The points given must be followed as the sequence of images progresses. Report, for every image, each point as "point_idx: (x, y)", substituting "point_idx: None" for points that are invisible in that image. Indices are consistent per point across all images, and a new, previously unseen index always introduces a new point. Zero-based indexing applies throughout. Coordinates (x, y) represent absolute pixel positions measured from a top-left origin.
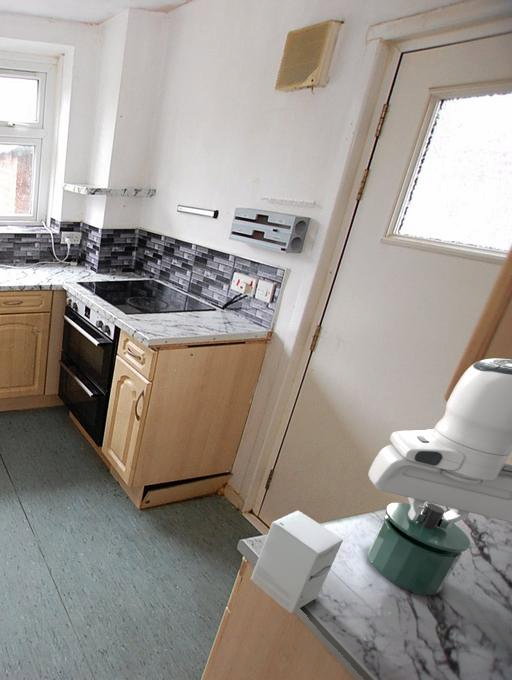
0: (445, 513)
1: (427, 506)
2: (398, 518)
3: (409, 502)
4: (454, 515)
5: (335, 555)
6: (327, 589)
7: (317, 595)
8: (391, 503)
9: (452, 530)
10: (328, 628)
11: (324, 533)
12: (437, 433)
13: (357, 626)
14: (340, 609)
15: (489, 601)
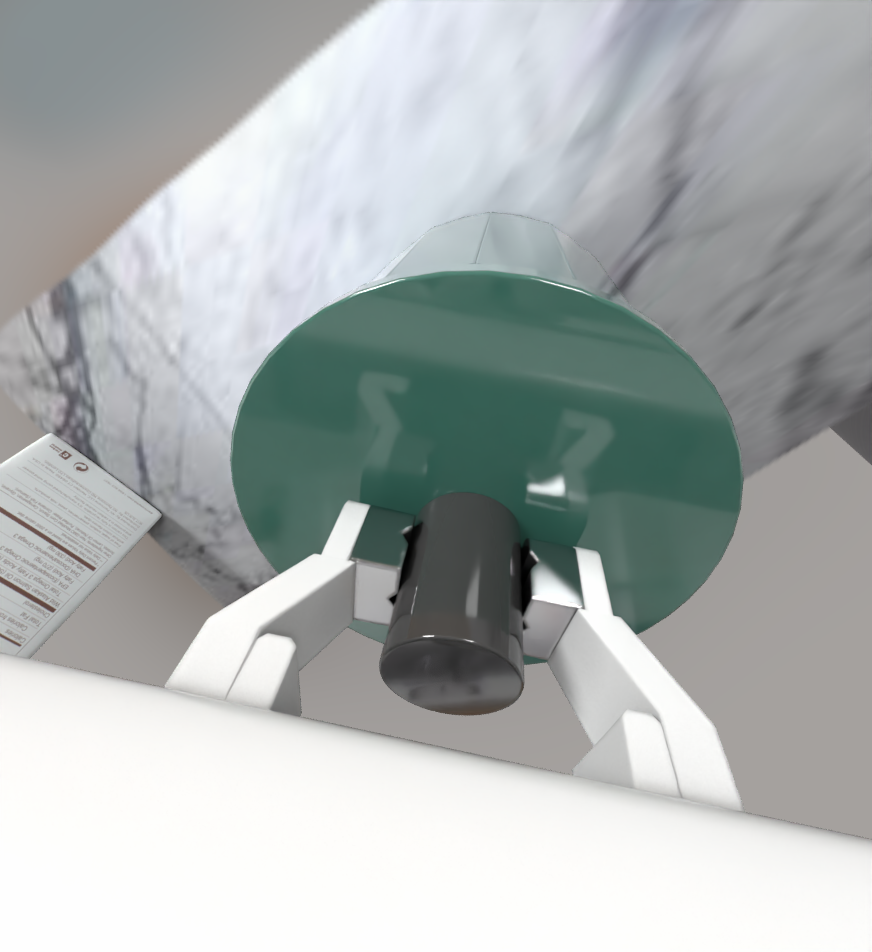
0: (584, 627)
1: (381, 668)
2: (284, 509)
3: (280, 574)
4: (588, 710)
5: (30, 657)
6: (194, 482)
7: (153, 524)
8: (302, 327)
9: (631, 559)
10: (187, 570)
11: None
12: None
13: (247, 561)
14: (218, 530)
15: (746, 442)
